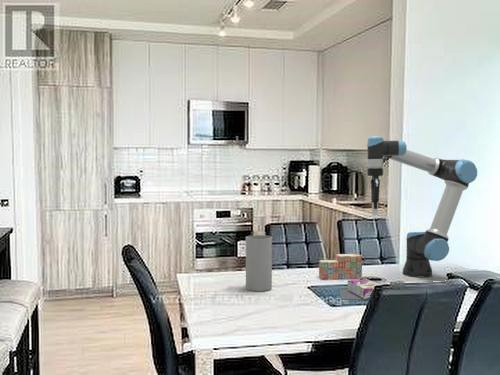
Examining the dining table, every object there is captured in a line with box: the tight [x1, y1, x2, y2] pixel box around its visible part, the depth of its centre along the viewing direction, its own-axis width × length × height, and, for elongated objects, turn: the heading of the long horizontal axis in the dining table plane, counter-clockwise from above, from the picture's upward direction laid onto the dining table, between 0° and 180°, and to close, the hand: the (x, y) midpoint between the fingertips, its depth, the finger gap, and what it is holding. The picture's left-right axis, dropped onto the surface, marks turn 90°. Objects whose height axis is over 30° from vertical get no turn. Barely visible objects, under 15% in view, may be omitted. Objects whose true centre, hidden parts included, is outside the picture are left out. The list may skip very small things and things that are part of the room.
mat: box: [338, 289, 370, 301], centre depth 233 cm, size 16×16×1 cm
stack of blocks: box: [318, 253, 363, 281], centre depth 267 cm, size 21×6×12 cm, turn 95°
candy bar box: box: [347, 278, 380, 299], centre depth 233 cm, size 11×5×16 cm
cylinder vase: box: [245, 234, 273, 293], centre depth 245 cm, size 12×12×25 cm
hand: (375, 215), depth 254 cm, fingers closed
